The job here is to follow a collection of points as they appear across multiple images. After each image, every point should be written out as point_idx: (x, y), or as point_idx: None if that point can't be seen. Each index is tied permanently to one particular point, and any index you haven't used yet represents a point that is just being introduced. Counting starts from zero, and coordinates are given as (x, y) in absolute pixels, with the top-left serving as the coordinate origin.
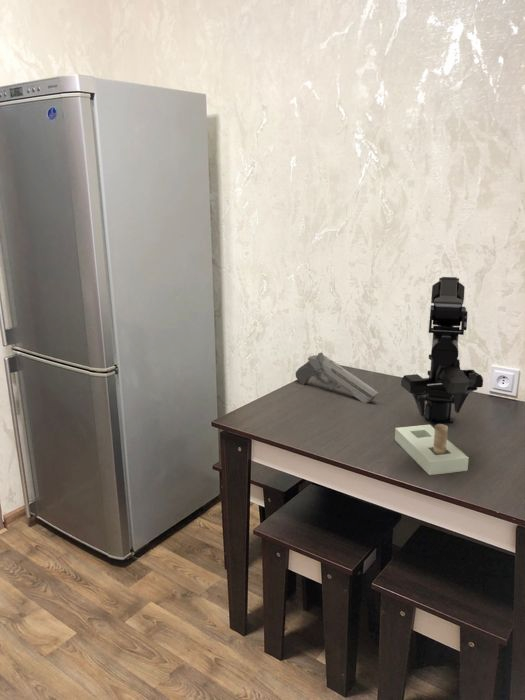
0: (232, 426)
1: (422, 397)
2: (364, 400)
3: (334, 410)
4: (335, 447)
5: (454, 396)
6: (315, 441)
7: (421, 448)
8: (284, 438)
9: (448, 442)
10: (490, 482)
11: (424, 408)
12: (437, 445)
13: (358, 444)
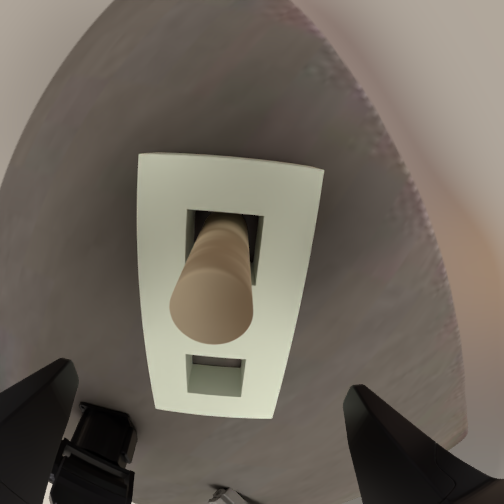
0: (465, 430)
1: (489, 493)
2: (232, 492)
3: (305, 479)
4: (418, 375)
5: (50, 473)
6: (426, 397)
7: (283, 287)
8: (452, 405)
9: (148, 298)
10: (136, 65)
11: (387, 429)
12: (245, 246)
13: (369, 383)
